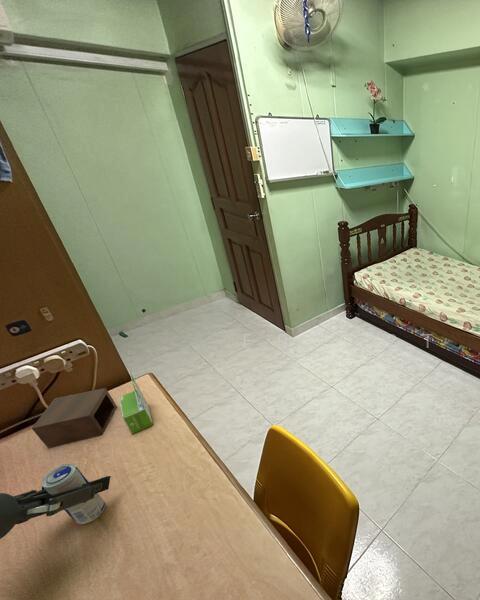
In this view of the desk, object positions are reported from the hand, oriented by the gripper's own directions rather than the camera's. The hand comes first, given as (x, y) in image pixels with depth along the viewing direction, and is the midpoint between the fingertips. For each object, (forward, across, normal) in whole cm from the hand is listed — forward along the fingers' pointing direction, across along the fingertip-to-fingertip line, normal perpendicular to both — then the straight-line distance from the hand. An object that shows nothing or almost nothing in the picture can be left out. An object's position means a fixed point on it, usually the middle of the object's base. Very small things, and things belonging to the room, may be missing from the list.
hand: (93, 483), depth 71 cm
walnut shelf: (+19, -20, +12) cm, 30 cm away
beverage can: (+1, 0, -6) cm, 7 cm away
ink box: (+20, -5, +12) cm, 24 cm away
